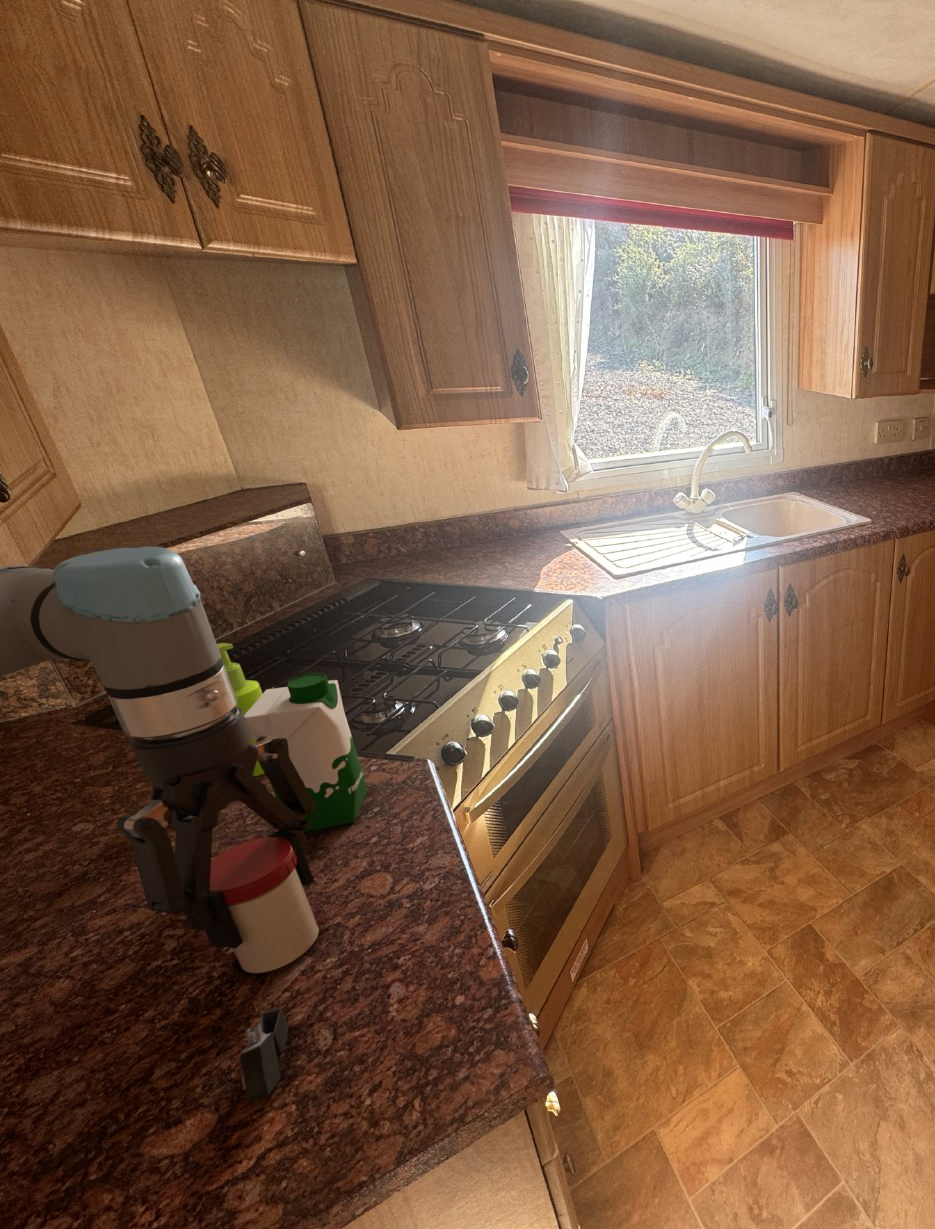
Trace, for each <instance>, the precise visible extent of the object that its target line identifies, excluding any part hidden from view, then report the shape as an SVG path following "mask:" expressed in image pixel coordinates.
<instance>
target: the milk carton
mask: <svg viewBox="0 0 935 1229" xmlns="http://www.w3.org/2000/svg"><path fill="white" fill-rule="evenodd" d="M262 693H263V694H262V695H261V696H260V698H259V699H258V700H257V701H256V702H255V703H254V705H253V706H252V707H251V708H250V709H249V710H248V712H247V713H246V714H245V715H244V717H245V720H246V722H247V725H248V728H249V730H250V733H251V735H252V737H253V739H254V741H255V743H256V741H257V739H258V738H259V737H261V736H269V737H278V738H285V739H287V741H288V749H289V757H290V759H291V761H292V763H293V765H294V767H295V768H296V770H297V772H298V774H299V776H300V777H301V779H302V781H303V783H304V785H305V786H306V788H307V790H308V792H309V794H310V796H311V797H312V799H313V801H314V803H315V805H316V810H315V812H314V813H313V814H311V815H307V816H306V817H305V818H304V820H307V821H309V827H308V829H307V830H306V831H304V832H303V833H306V832H310V831H317V830H321V829H327V828H331V827H336V826H342V825H346V824H352V823H355V821H356V819H357V817H358V814H359V812H360V810H361V807H362V805H363V803H364V801H365V798H366V796H367V793H368V791H369V790H368V787H367V784H366V780H365V775H364V772H363V769H362V765H361V762H360V758H359V755H358V753H357V748H356V746H355V743H354V740H353V736H352V733H351V730H350V726H349V723H348V719H347V717H346V713H345V708H344V704H343V700H342V694H341V690H340V686H339V681H338V680H337V679H332V680H328V677H327V675H326V674H325V673H321V672H313V673H307V674H303V675H300V676H297V677H295V678H292V679H291V680H289V681H288V683H287V684H286V686H283V687H282V686H281V687H276V688H275V687H274V688H268V689H267V688H266V689H265V691H264V692H262ZM270 786H271V788H272V791H273V793H274V796H275V797H276V798H277V799H278V800H279V801H281V800H280V798H279V796H278V795H277V793H276V791H275V790H274V788H273V786H272V785H271V784H270Z"/></svg>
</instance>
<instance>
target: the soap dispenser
mask: <svg viewBox="0 0 935 1229" xmlns="http://www.w3.org/2000/svg"><path fill="white" fill-rule="evenodd" d="M216 644H217V646H218V649H219V652H220V655H221V659H222V661H223V664H224V666H225V668H226V671H227V674H228V676H229V679H230V681H231V684H232V687H233V689H234V692H235V695H236V697H237V700H238V701H237V704H236V706H237V707H239V708H240V709H241V710H242V712H243V715H245V714H246V713H247V712H248V710H249V709H250V708H251V707H252V706H253V705H254V703H255V702H256V701H257V700H258V699H259V698H260V696H261V695H262V694H263V693H264V692H263V691H262V688H261V686H260V685H261V684H260V683H259V681H257V680H251V679H250V680H246V677H245V675H244V672H243V669H242V666H241V664H240V663H238V662H234V661H233V662H232V661H231V659H230V656H229V654H228V651H229V650H231V649H234V646H233V644H232V643H226V642H219V643H216ZM251 736H252V735H251ZM251 743H252V744H253V743H255V741H254V739H253V737H252V741H251ZM253 775H254V776H255V777H258V776H262V775H266V774H265V773H264V771H263V769H262V768H261V766H260V764H259V761H258V760H257V762H256V766H255V769H254V772H253Z"/></svg>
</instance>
